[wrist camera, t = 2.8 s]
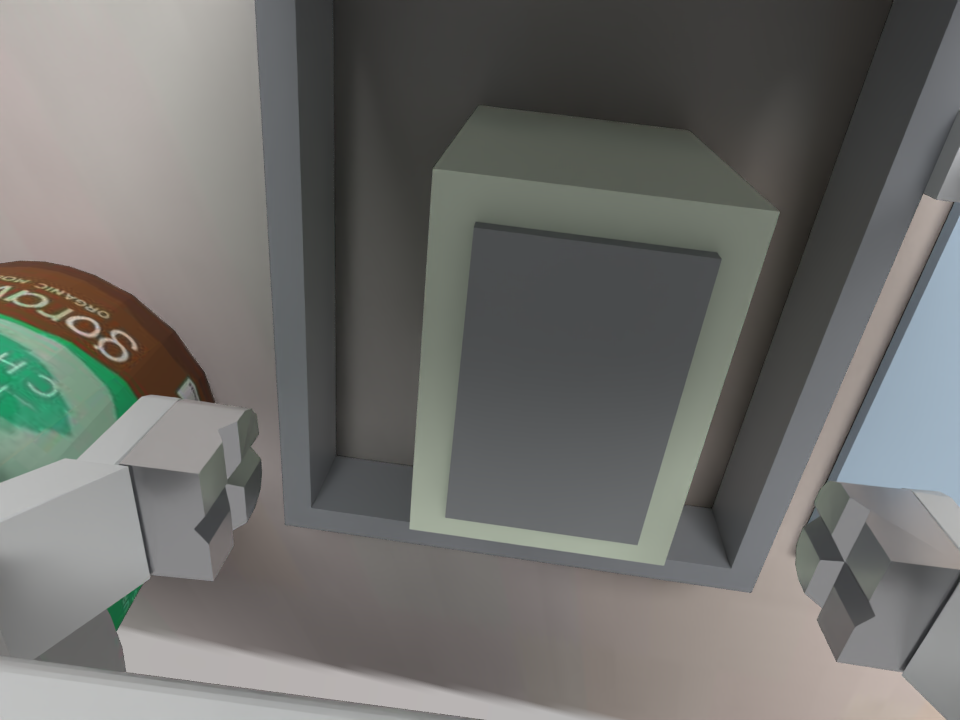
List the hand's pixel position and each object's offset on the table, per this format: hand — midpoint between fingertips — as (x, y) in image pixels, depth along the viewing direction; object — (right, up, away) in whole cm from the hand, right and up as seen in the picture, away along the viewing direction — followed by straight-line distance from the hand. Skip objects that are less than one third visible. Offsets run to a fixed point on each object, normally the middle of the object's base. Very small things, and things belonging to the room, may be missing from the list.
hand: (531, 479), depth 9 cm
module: (+1, +4, +8) cm, 9 cm away
